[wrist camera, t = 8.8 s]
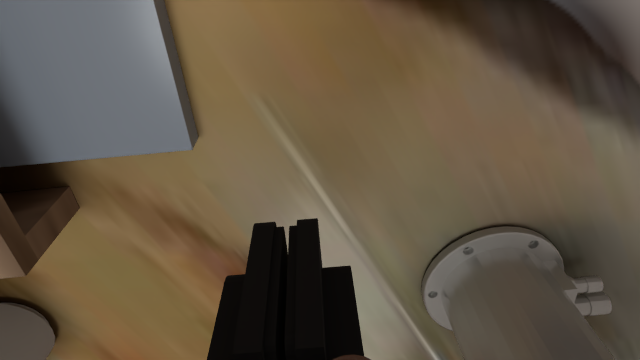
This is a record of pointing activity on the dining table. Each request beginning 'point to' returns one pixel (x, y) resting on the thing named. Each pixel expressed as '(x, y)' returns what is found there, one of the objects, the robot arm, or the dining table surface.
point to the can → (24, 333)
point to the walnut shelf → (31, 226)
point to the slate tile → (89, 81)
